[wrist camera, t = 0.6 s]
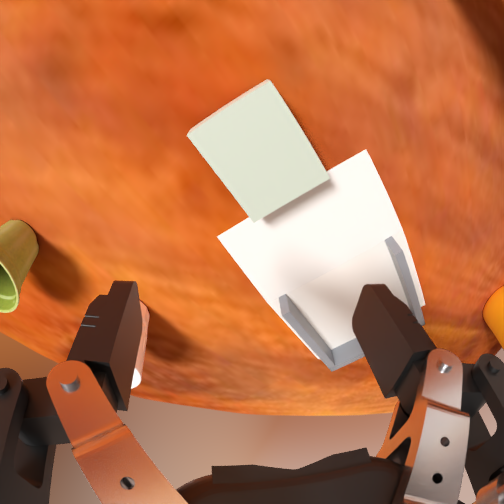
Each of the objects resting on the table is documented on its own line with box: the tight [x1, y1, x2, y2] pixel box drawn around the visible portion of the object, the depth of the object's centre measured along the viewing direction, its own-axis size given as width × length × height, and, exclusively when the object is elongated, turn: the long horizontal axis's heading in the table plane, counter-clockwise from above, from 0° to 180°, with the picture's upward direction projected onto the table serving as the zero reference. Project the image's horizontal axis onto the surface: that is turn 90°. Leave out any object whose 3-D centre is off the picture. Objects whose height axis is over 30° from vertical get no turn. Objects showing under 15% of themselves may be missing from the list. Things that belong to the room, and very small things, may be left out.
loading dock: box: [217, 150, 425, 371], centre depth 36 cm, size 18×25×6 cm
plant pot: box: [0, 220, 39, 313], centre depth 28 cm, size 9×9×9 cm
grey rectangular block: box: [187, 80, 330, 223], centre depth 26 cm, size 8×10×4 cm
